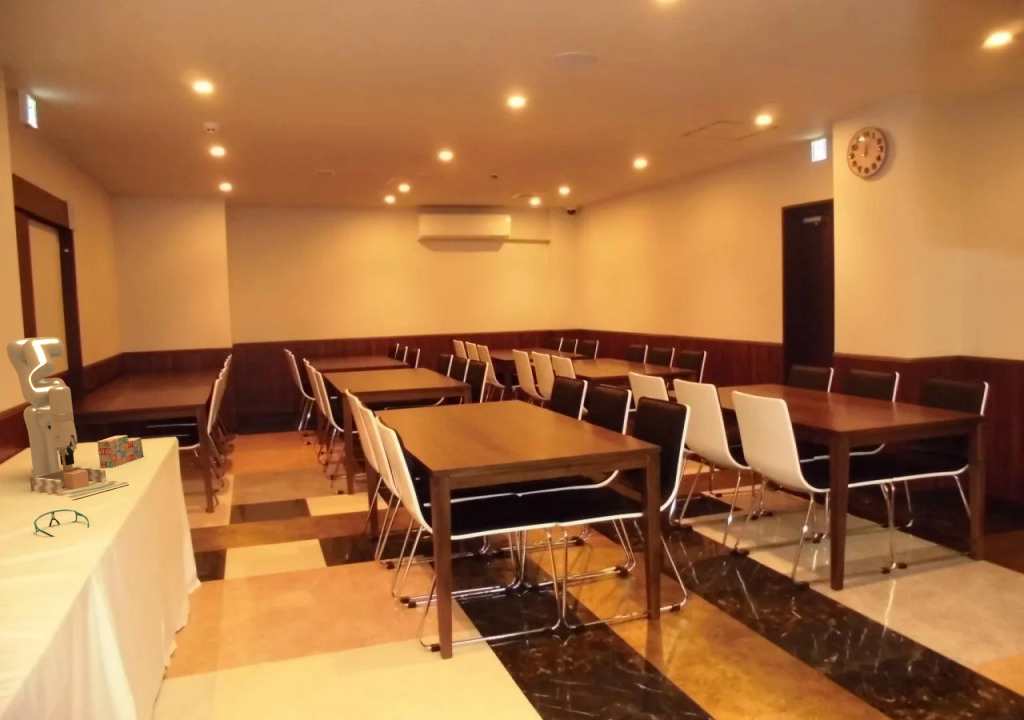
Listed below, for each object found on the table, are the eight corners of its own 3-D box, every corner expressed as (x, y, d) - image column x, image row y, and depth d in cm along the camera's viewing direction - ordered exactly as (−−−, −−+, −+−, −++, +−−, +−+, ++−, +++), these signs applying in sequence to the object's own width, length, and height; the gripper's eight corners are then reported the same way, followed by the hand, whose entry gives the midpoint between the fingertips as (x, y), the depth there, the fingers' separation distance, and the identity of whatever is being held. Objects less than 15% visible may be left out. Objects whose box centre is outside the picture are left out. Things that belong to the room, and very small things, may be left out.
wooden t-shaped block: (52, 487, 291) (47, 447, 290) (82, 480, 302) (77, 440, 300) (56, 488, 290) (51, 447, 288) (86, 480, 300) (82, 441, 299)
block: (64, 488, 293) (63, 473, 292) (80, 484, 298) (78, 469, 297) (74, 489, 290) (72, 474, 289) (89, 485, 295) (87, 470, 294)
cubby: (27, 494, 291) (25, 478, 291) (83, 479, 310) (81, 465, 310) (74, 500, 277) (72, 484, 276) (129, 485, 296) (127, 470, 295)
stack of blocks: (131, 457, 353) (128, 431, 352) (143, 457, 352) (140, 431, 351) (100, 468, 332) (96, 441, 331) (112, 468, 331) (109, 440, 330)
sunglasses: (76, 519, 251) (75, 505, 251) (95, 531, 242) (94, 516, 241) (29, 531, 241) (27, 516, 240) (47, 544, 231) (46, 528, 231)
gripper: (40, 419, 294) (46, 465, 296) (64, 420, 286) (70, 467, 288) (59, 415, 301) (65, 461, 302) (84, 416, 293) (89, 463, 295)
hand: (67, 463), depth 295 cm, fingers closed on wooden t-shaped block, 2 cm apart
